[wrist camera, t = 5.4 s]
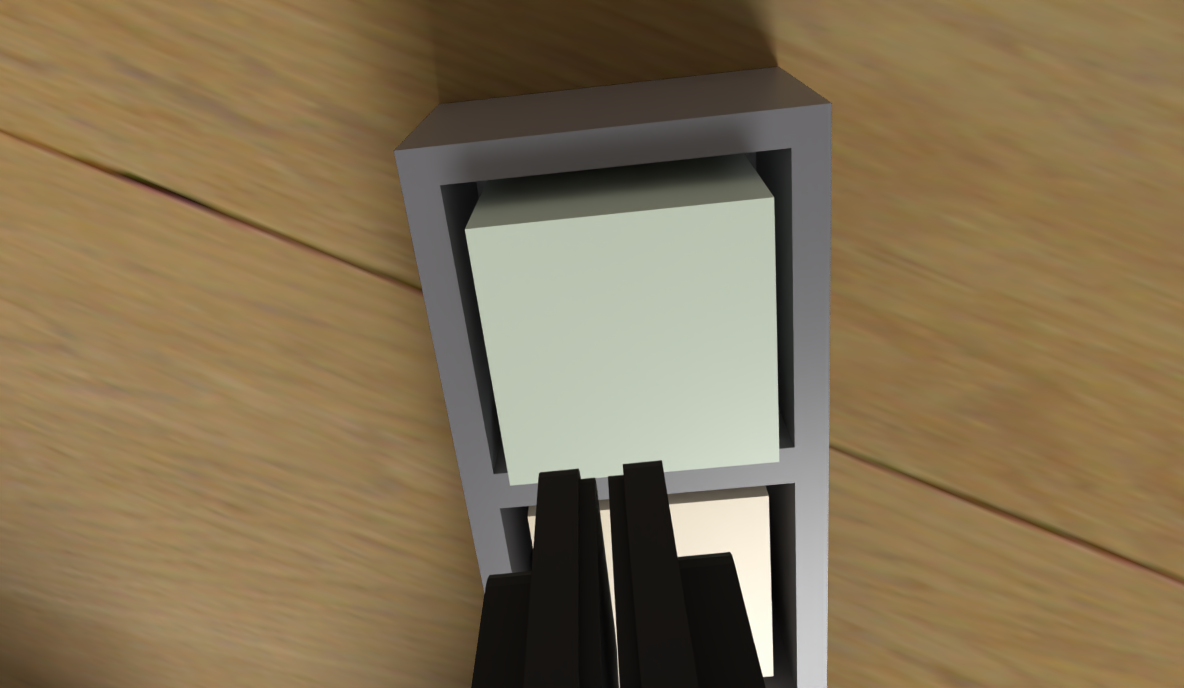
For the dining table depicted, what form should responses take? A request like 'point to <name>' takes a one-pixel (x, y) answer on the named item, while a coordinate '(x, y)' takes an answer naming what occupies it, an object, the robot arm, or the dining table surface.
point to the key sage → (630, 316)
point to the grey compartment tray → (802, 256)
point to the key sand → (719, 547)
